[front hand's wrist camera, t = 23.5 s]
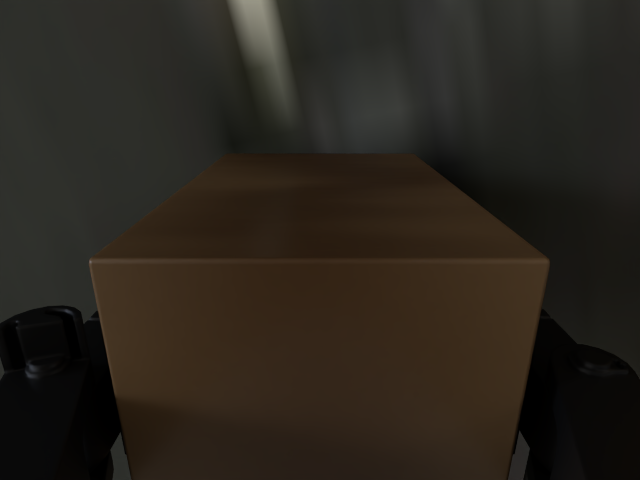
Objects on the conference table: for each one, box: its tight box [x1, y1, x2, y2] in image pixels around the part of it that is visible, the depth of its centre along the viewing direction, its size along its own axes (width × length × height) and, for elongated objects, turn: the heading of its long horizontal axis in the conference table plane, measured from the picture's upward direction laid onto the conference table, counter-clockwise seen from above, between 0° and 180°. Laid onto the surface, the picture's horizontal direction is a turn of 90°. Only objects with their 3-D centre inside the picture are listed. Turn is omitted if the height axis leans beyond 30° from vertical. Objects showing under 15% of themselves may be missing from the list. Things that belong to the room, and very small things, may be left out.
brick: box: [89, 154, 550, 480], centre depth 11 cm, size 6×7×9 cm
